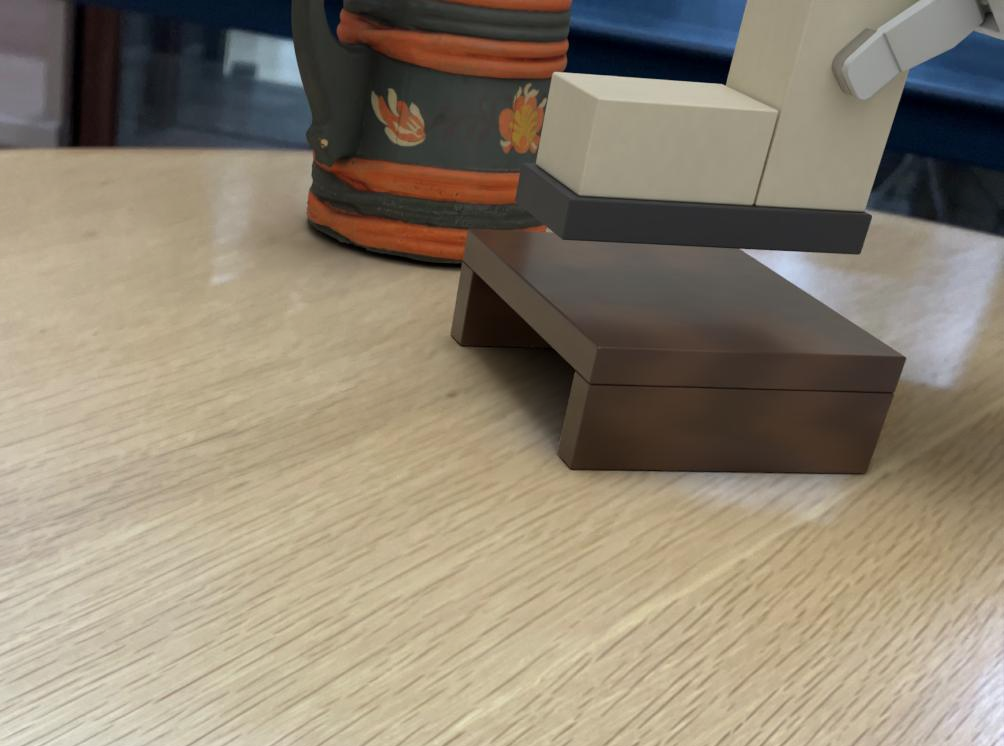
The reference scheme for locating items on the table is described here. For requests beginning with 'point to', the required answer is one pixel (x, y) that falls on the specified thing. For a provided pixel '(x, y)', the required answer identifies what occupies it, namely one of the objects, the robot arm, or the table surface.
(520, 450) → the table surface
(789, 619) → the table surface
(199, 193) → the table surface
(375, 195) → the beer stein
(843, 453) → the shoe shelf
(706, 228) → the blocky cream boot
